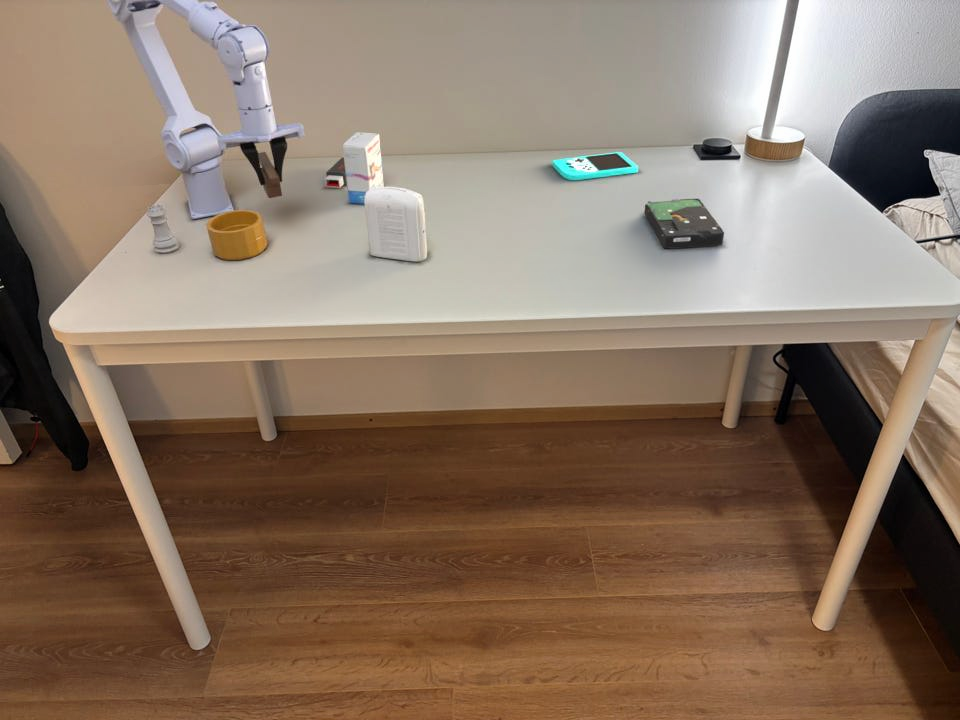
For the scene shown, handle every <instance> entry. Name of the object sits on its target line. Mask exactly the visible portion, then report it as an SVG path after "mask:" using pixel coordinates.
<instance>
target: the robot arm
mask: <svg viewBox="0 0 960 720" xmlns="http://www.w3.org/2000/svg"><path fill="white" fill-rule="evenodd" d="M106 2H107V4H108V6H109V8H110V10H111V12H112V14H113V16H114V19H115V20H116V21H117V22H119V23H121V26H122V29H123V30H124V32H125V34H126V36H127V38H128V40H129V43H130V44H131V46H132V48H133V51H134V53H135V55H136V58H137V59H138V61H139V63H140V66H141V67H142V69H143V71H144V74H145V76H146V78H147V80H148V83H149V84H150V86H151V88H152V90H153V92H154V95H155V96H156V99H157V101H158V103H159V105H160V107H161V109H162V112H163V113H164V115H165V117H166V121H165V123H164V125H163V127H162V129H161V131H160V134H159V136H160V138H161V141H162V144H163V146H164V154H165V156H166V158H167V161H168V162H169V163H170V164H171V165H172V166H173V167H174V168H175V169H176V170H177V171H180V172H181V176H182V179H183V183H184V186H185V190H186V193H187V197H188V200H187V204H188V208H189V209H188V210H189V213H190V217H191V219H192V220H196V219H203V218H207V217H208V218H209V217H214V216H216V215H219V214H221V213H224V212H228V211H234V210H235V209H234V207H233V204H232V201H231V198H230V196H229V195H230V194H229V193H227V189H226V185H225V180H224V176H223V173H222V168H221V164H220V163H222V162H223V158H222V157H223V156H224V154H225V151H226V150H227V149H231V148H236V147H239V148H240V150H241V152H242V154H243V155H244V157H245V158H246V159H247V161H248V162H249V163H250V165H251V167H252V168H253V170H254V172H255V173H256V176H257V178H258V183H259V184H260V186H263V185H265V183H264V178H263V174H262V171H261V168H262V166H261V164H260V162H259V156H258V153H259V151H258V149H257V146H256V144H260V143H267V142H269V146H270V150H271V154H272V159H273V166H274V168H275V170H276V171H277V173H278V176H279V179H280V183H282V182H283V168H284V167H283V166H284V162H285V161H284V160H285V157H286V153H287V151H288V142H287V139H292V138H293V139H294V138H301V139H302V138H305V137H306V136H305V131H304V130H305V129H304V125H302V124H303V123H301V122H299V123H287V124H277V123H276V118H275V116H276V115H275V112H274V106H273V101H272V96H271V90H270V86H269V81H268V76H267V70H266V66H265V65H266V64H265V62H266V61H267V60H268V59H269V57H270V45H269V40H268V38H267V37H266V35H265V33H264V32H263V31H262V30H261V29H260V28H259V27H258V25H255V24H248V25H247V24H244V23H243V24H241V23H240V22H239V21H238V20H236V19H235V18H233V17H231V16H230V15H228V14H227V12H224V11H223V10H222V9H220V8H219V7H218V4H217V3H216V2H214V1H208V0H207V1H201V2H199V0H106ZM164 7H166V8H167V9H169V10H171V11H172V12H174V13H175V14H177V15H178V16H179V17H182V18H183V19H185V20H186V21H188V27H189V29H190V31H191V32H192V34H194V35H195V36H197V37H198V38H199V39H200V40H202V41H203V42H204V43H205V44H207V45H208V46H210V47H211V48H213V50H215V51H216V53H217V56H218V58H219V60H220V62H221V63H222V65H223V66H224V68H225V71H226V77H228V79H229V81H231V84H232V88H233V93H234V97H235V103H236V106H237V110H238V115H239V119H240V124H241V130H240V129H239V130H236V131H233V132H229V133H226V134H222V133H221V131H219V130H218V128H216V126H215V125H214V123H213V120H212V119H211V117H210V116H209V115H207V114H204V113H202V112H201V111H197V110H196V109H195V107H194V105H193V103H192V101H191V99H190V97H189V94H188V92H187V90H186V87H185V85H184V84H183V81H182V80H181V77H180V74H179V73H178V70H177V68H176V66H175V64H174V61H173V59H172V57H171V56H170V53H169V51H168V49H167V46H166V45H165V42H164V40H163V38H162V35H161V34H160V32H159V30H158V27H157V25H156V18H157V15H158V14H159V13H161V11H162V9H163V8H164ZM189 129H192V130H190V131H186V130H189ZM183 131H186V132H184V133H182V132H183Z"/></svg>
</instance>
